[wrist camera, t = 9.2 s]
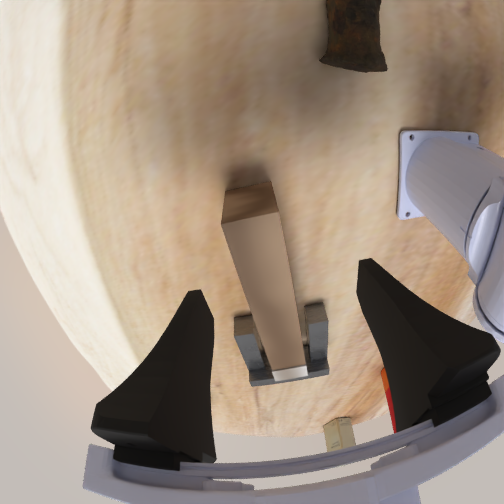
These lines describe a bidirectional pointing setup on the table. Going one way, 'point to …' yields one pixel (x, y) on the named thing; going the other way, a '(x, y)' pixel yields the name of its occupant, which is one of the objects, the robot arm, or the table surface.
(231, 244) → the walnut rail
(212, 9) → the table surface
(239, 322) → the u-shaped metal bracket
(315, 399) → the table surface
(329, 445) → the skincare box
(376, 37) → the hand tool
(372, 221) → the table surface
